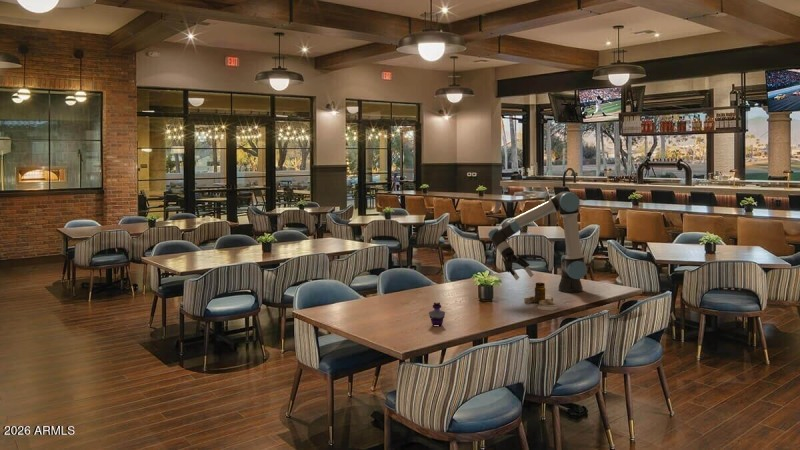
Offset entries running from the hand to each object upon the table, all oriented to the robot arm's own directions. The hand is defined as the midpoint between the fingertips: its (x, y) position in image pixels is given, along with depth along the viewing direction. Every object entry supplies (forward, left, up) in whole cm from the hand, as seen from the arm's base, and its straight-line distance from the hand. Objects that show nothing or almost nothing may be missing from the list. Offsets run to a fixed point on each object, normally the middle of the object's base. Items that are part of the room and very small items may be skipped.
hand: (525, 277), depth 382 cm
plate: (+7, +21, -14) cm, 27 cm away
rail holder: (0, +10, -14) cm, 17 cm away
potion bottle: (+78, +4, -14) cm, 79 cm away
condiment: (0, +10, -14) cm, 17 cm away
